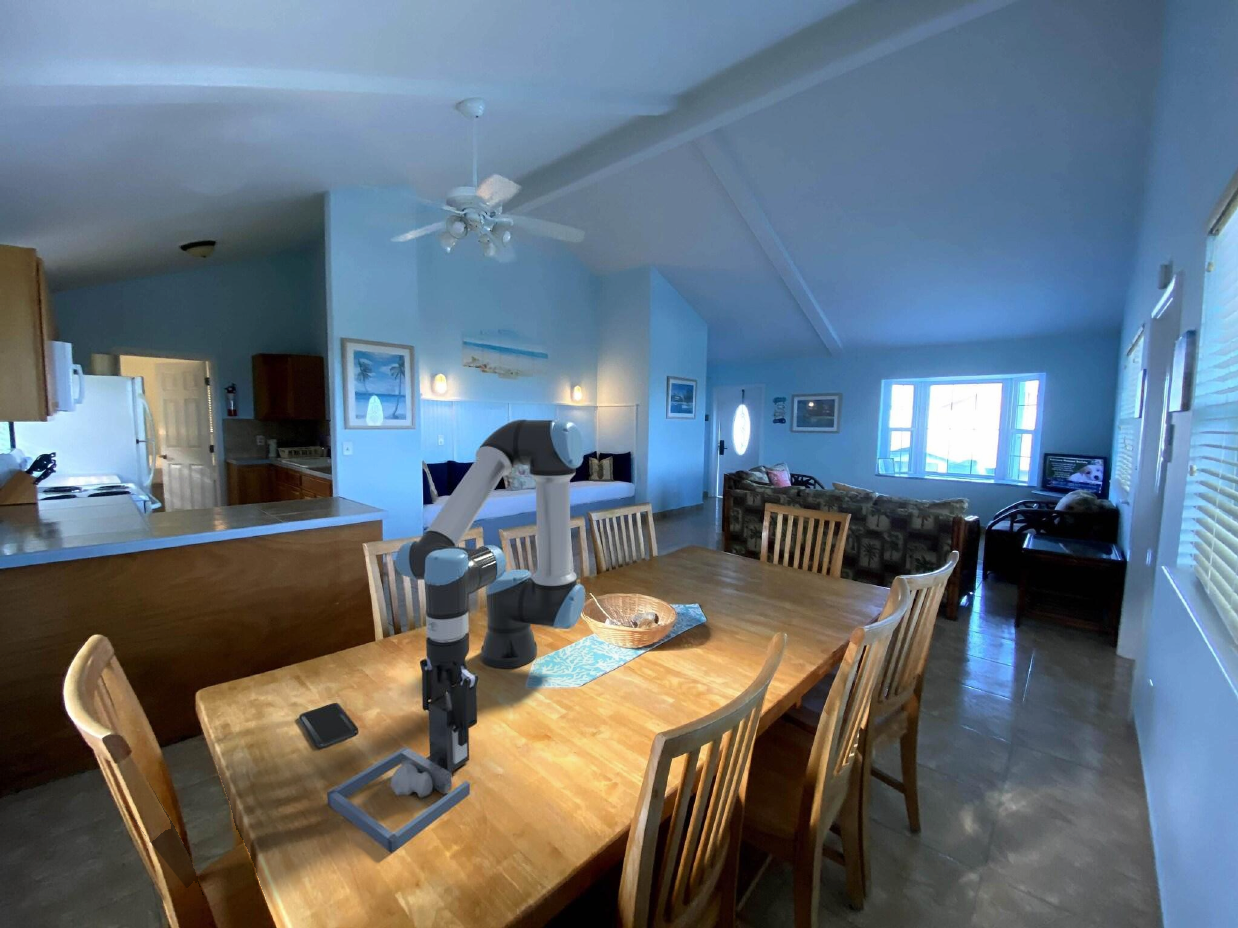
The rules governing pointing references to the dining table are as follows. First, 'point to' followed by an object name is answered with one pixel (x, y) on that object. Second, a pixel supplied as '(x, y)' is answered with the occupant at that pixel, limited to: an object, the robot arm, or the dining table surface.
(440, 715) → the grey block with bar
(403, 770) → the pale two-lobed sculpture
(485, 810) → the dining table surface
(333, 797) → the frame
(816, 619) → the dining table surface
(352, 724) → the phone
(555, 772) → the dining table surface
